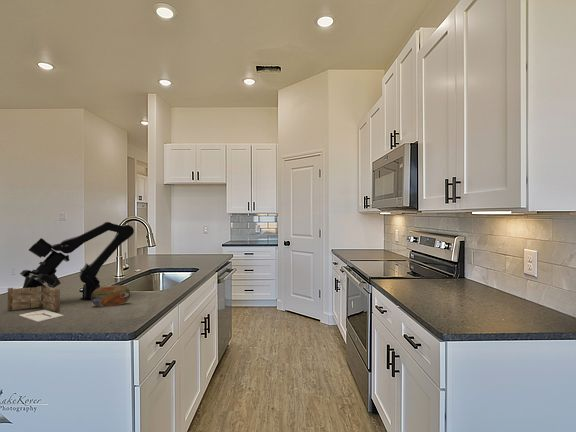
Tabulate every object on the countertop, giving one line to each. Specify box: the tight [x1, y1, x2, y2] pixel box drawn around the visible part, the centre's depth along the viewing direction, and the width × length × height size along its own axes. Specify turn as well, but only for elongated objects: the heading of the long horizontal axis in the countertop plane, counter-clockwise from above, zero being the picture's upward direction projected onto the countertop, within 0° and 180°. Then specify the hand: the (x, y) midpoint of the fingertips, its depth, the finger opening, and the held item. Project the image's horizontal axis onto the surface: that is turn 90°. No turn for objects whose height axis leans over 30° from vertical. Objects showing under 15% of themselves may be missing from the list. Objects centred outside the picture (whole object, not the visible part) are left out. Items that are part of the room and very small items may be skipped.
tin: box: [91, 284, 131, 308], centre depth 150 cm, size 15×3×8 cm, turn 117°
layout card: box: [18, 309, 64, 323], centre depth 133 cm, size 14×9×1 cm, turn 60°
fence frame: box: [40, 284, 61, 313], centre depth 141 cm, size 12×2×9 cm, turn 60°
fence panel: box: [7, 286, 41, 311], centre depth 141 cm, size 11×2×8 cm, turn 118°
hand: (22, 295), depth 142 cm, fingers closed
